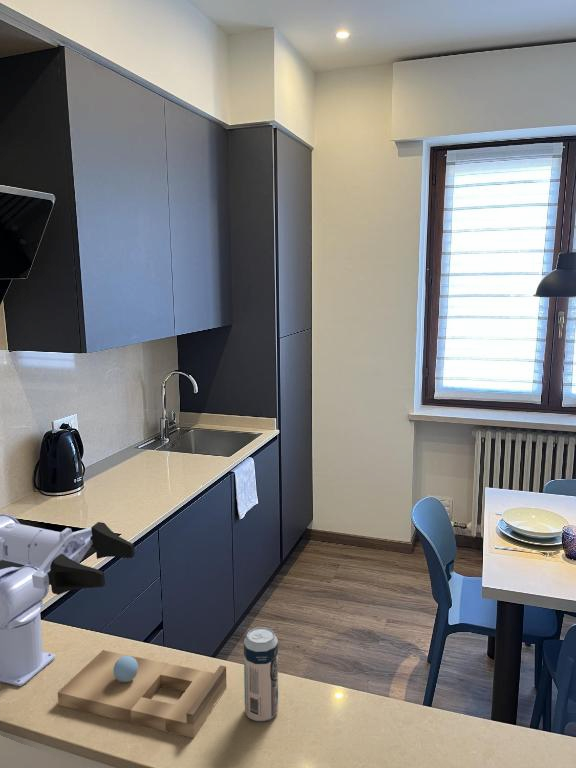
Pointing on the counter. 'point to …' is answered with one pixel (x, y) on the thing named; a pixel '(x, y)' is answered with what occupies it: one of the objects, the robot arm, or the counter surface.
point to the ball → (125, 669)
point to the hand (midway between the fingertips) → (118, 564)
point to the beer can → (261, 674)
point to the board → (145, 693)
